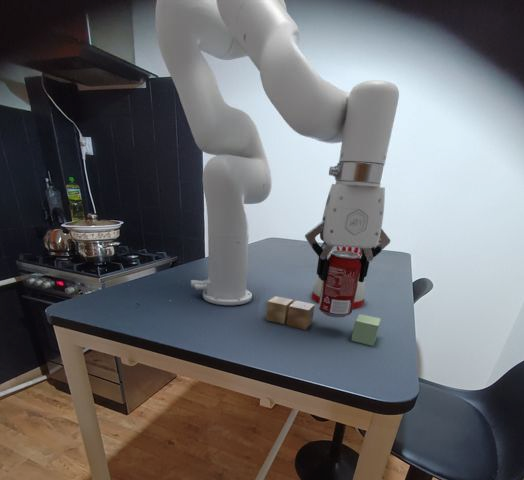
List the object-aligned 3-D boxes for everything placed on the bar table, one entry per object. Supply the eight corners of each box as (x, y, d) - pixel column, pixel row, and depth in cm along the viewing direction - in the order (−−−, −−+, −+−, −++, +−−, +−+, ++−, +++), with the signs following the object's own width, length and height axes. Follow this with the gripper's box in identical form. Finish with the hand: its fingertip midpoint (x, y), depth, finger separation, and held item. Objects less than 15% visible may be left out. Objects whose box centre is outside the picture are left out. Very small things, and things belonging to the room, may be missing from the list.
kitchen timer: (369, 310, 81) (383, 249, 74) (315, 306, 81) (325, 245, 74) (356, 293, 93) (367, 240, 86) (309, 290, 93) (317, 236, 86)
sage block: (350, 340, 64) (355, 320, 62) (355, 333, 68) (359, 313, 65) (373, 346, 62) (378, 325, 60) (376, 338, 66) (381, 318, 64)
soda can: (351, 321, 62) (365, 259, 56) (317, 316, 63) (326, 254, 57) (350, 309, 68) (362, 252, 62) (318, 305, 69) (327, 248, 63)
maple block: (265, 319, 71) (267, 301, 69) (273, 313, 74) (275, 295, 72) (284, 324, 69) (286, 305, 67) (291, 318, 73) (293, 299, 71)
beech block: (286, 325, 69) (288, 305, 67) (293, 318, 72) (295, 300, 70) (305, 329, 67) (308, 310, 65) (312, 322, 71) (314, 304, 69)
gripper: (314, 172, 50) (300, 283, 58) (418, 180, 51) (390, 287, 60) (304, 173, 56) (293, 272, 65) (397, 180, 58) (375, 276, 66)
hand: (340, 278), depth 62 cm, fingers closed on soda can, 6 cm apart
